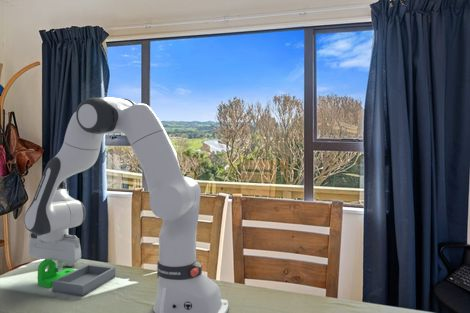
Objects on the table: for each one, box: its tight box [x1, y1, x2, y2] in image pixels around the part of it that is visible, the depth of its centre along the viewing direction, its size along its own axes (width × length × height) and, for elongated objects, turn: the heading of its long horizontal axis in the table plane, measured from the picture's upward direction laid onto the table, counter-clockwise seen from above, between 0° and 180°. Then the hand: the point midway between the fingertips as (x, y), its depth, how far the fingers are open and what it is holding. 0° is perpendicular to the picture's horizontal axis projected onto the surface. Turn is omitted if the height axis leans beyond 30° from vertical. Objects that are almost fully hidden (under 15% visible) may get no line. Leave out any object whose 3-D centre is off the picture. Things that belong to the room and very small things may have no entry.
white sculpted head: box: [63, 261, 78, 268], centre depth 137 cm, size 6×7×7 cm
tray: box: [52, 263, 116, 297], centre depth 120 cm, size 12×17×4 cm
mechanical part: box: [37, 259, 76, 289], centre depth 123 cm, size 12×6×8 cm, turn 155°
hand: (55, 271), depth 124 cm, fingers closed on mechanical part
